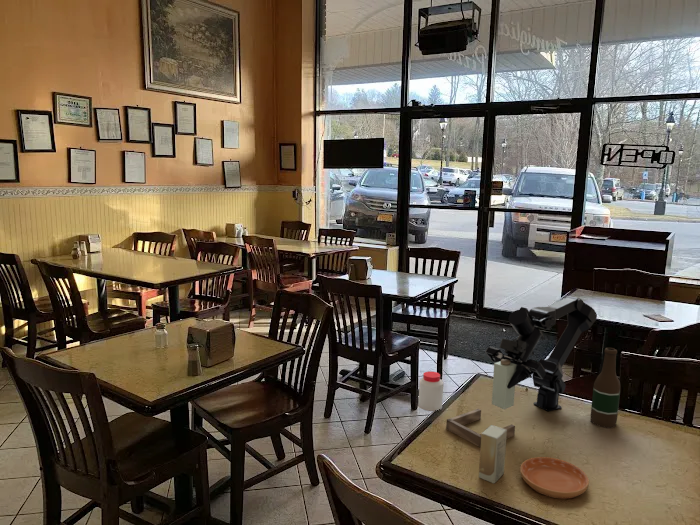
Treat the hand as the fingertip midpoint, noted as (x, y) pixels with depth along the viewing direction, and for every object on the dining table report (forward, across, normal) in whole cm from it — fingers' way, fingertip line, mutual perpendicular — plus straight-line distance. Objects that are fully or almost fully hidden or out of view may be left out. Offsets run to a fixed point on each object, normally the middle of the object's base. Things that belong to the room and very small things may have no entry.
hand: (501, 385), depth 161 cm
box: (+15, -1, +4) cm, 15 cm away
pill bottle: (+14, -22, +5) cm, 27 cm away
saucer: (+20, +27, 0) cm, 33 cm away
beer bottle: (-11, +17, +31) cm, 37 cm away
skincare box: (+26, +16, -8) cm, 32 cm away
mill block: (+4, 0, +6) cm, 7 cm away
